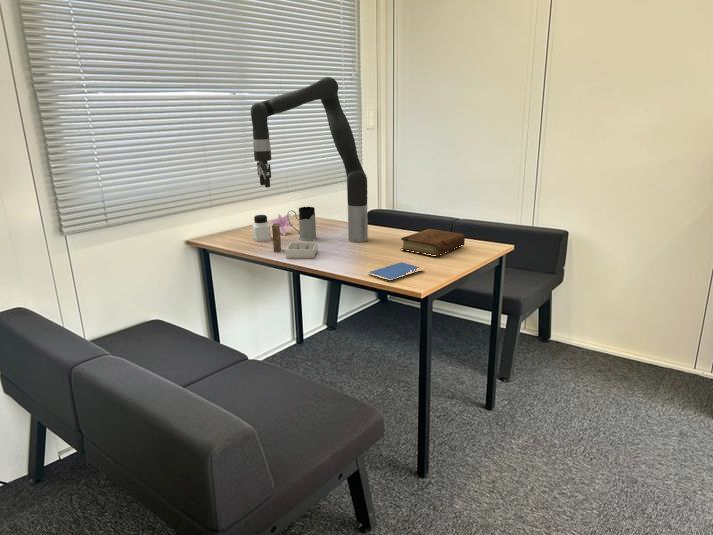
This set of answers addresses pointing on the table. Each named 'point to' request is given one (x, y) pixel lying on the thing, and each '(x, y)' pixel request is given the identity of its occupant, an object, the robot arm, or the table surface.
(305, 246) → the plank slot holder tray
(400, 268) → the blue notebook
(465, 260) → the table surface
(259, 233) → the medicine bottle
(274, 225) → the wooden plank piece
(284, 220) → the lily
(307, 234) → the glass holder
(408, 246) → the diary
